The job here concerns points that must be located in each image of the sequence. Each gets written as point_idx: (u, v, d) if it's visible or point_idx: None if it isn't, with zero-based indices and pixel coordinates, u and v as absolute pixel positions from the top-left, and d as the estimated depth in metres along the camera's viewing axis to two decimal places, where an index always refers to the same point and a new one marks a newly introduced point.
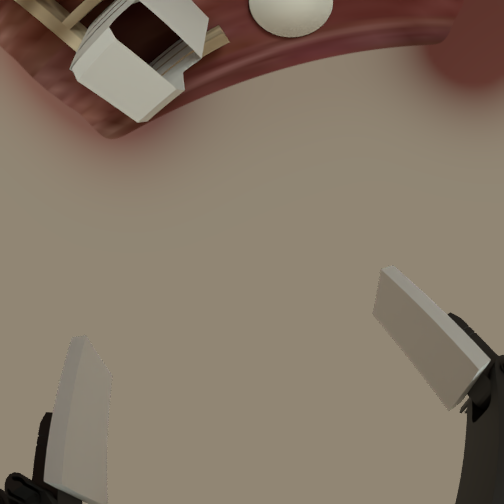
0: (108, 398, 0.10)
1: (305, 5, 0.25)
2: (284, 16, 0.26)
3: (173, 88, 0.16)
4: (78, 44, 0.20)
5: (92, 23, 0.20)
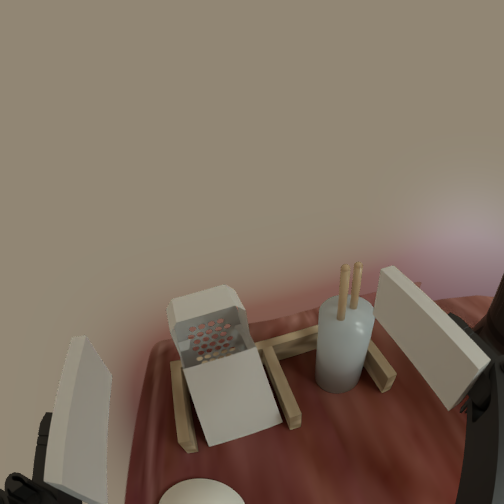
0: (108, 398, 0.10)
1: None
2: None
3: (178, 321, 0.25)
4: None
5: None
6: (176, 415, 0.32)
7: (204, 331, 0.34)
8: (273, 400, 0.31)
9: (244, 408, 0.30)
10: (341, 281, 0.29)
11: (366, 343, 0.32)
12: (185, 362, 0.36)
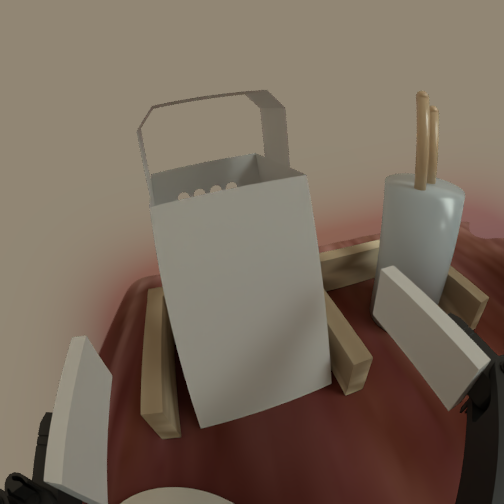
0: (108, 398, 0.10)
1: None
2: None
3: (156, 105, 0.11)
4: None
5: None
6: (144, 365, 0.18)
7: None
8: (325, 329, 0.17)
9: (272, 344, 0.16)
10: (420, 115, 0.16)
11: (457, 234, 0.18)
12: None
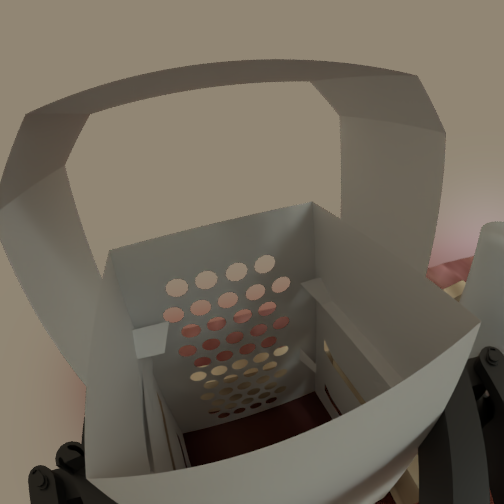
0: (150, 370, 0.11)
1: None
2: None
3: (42, 107, 0.02)
4: None
5: (320, 389, 0.18)
6: None
7: (213, 298, 0.11)
8: (400, 475, 0.08)
9: None
10: None
11: None
12: (162, 384, 0.13)
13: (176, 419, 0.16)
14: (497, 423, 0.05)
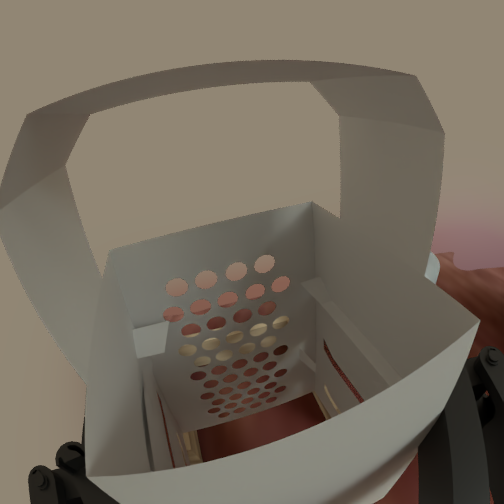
0: (150, 370, 0.11)
1: None
2: None
3: (43, 107, 0.02)
4: None
5: (319, 388, 0.18)
6: None
7: (213, 298, 0.11)
8: (400, 474, 0.08)
9: None
10: None
11: None
12: (162, 384, 0.13)
13: (176, 419, 0.16)
14: (497, 423, 0.05)
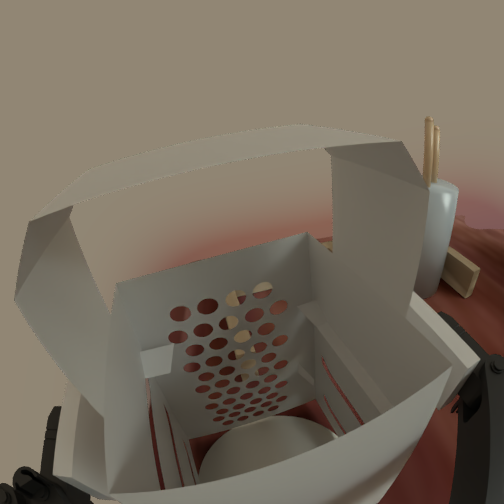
0: None
1: None
2: (248, 461, 0.16)
3: (42, 214, 0.03)
4: None
5: (320, 397, 0.19)
6: (229, 320, 0.25)
7: (215, 322, 0.12)
8: (390, 483, 0.09)
9: None
10: (427, 134, 0.22)
11: (453, 219, 0.25)
12: (168, 396, 0.14)
13: (182, 427, 0.17)
14: None
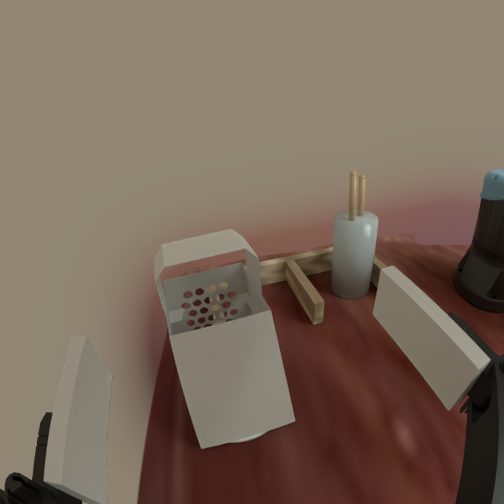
0: (108, 398, 0.10)
1: None
2: None
3: (166, 265, 0.18)
4: (271, 262, 0.50)
5: None
6: (212, 307, 0.40)
7: (202, 299, 0.27)
8: (286, 391, 0.24)
9: (249, 400, 0.23)
10: (350, 184, 0.38)
11: (373, 243, 0.41)
12: None
13: None
14: None
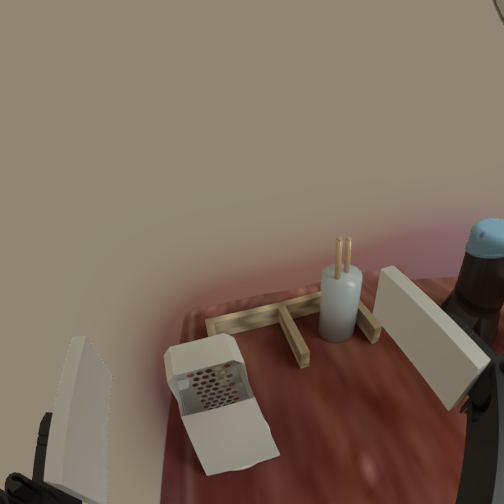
0: (108, 398, 0.10)
1: None
2: None
3: (175, 374, 0.23)
4: (265, 308, 0.54)
5: None
6: None
7: (203, 370, 0.32)
8: (271, 438, 0.29)
9: (242, 446, 0.28)
10: (336, 248, 0.42)
11: (356, 298, 0.45)
12: (184, 396, 0.34)
13: (189, 410, 0.36)
14: None
